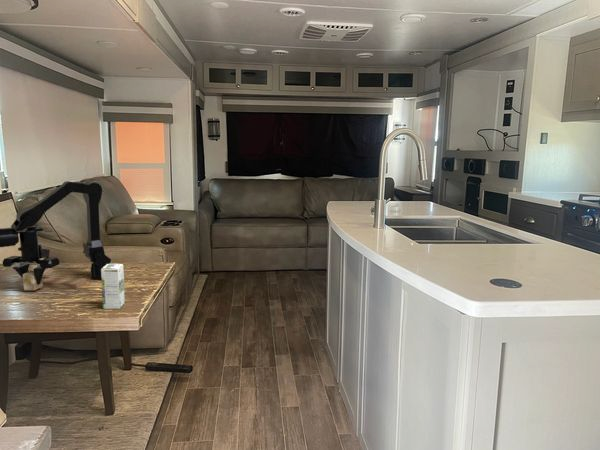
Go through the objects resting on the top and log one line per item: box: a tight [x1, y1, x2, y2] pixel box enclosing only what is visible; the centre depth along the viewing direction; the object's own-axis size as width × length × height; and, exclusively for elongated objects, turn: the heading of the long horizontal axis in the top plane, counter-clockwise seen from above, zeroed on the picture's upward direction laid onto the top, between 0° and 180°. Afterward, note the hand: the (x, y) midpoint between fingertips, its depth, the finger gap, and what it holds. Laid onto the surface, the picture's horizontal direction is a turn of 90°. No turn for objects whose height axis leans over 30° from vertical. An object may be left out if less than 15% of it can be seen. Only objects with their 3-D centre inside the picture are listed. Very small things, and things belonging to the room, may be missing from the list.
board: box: [41, 276, 87, 290], centre depth 176 cm, size 20×6×2 cm, turn 85°
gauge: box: [22, 267, 54, 291], centre depth 172 cm, size 4×14×6 cm, turn 175°
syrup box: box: [101, 263, 126, 310], centre depth 153 cm, size 6×6×14 cm
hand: (33, 284), depth 168 cm, fingers closed on gauge, 4 cm apart
